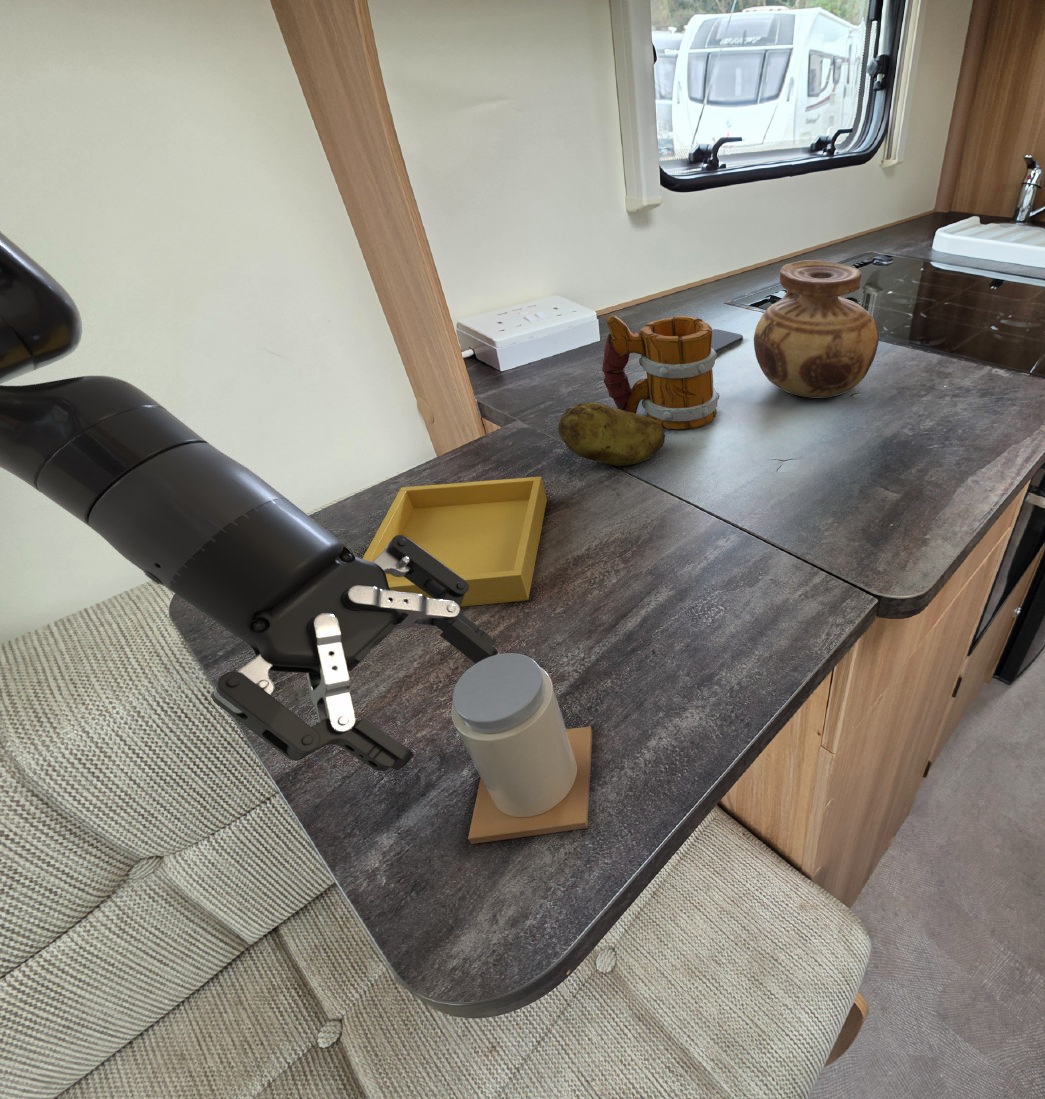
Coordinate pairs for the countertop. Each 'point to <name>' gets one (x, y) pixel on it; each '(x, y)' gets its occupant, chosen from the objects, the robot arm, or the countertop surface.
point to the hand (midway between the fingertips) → (451, 706)
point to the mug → (664, 370)
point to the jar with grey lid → (515, 733)
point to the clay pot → (816, 332)
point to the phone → (724, 339)
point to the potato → (610, 434)
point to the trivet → (560, 818)
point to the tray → (471, 534)
